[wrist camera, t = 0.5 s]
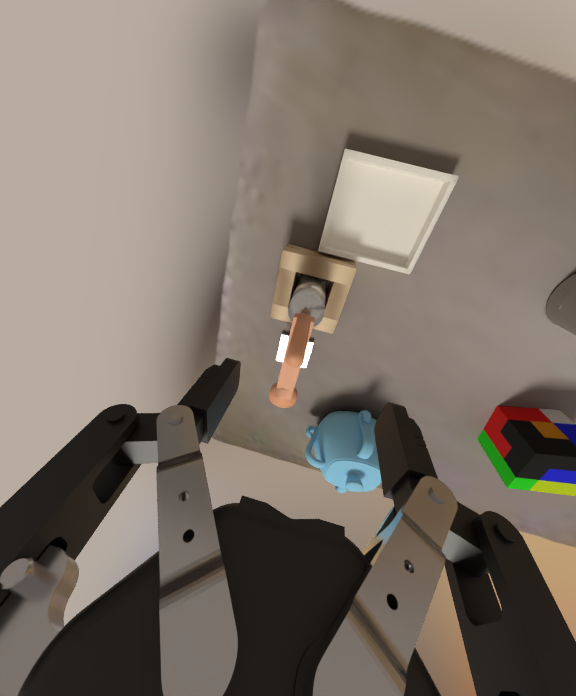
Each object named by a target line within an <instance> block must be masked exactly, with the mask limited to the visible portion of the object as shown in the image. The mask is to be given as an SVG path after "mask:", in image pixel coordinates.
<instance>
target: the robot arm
mask: <svg viewBox="0 0 576 696" xmlns="http://www.w3.org/2000/svg"><path fill="white" fill-rule="evenodd" d="M546 314H547V316H548V318H549V319H550V320H551V321H552V322H553V323H555V324H556V325H558V326H560V327H562V328H564V329H565V330H567V331H569V332H571V333H572V334H574V335H576V273H575V274H573V275H572V276H570V277H569V278H568V279H566V280H565V281H563V282H562V283H561V284H560V285H559V286H558V287H557V288H556V289H555V291H554V292H553V293H552V294H551V296H550V298H549V300H548V302H547V306H546ZM240 366H241V363H240V361H236V360H233V359H229V358H226V359H225V360H224V362H223V363H222V364H221V366H218V365H213V366H211V367H209V368H208V369H206V370H205V371H204V373H203V374H202V375H201V377H200V378H199V379H198V380H197V382H196V383H195V384H194V385H193V386H192V388H191V389H190V390H189V391H188V392H187V394H186V395H185V396H184V397H183V399H182V400H181V401H180V402H179V403H178V404H177V405H174V406H171V407H168V408H166V409H165V410H163V411H162V412H161V413H137V411H136V409H135V408H134V407H133V406H131V405H127V404H119V405H114V406H111V407H109V408H107V409H105V410H103V411H102V412H101V413H99V415H97V416H96V417H95V418H94V419H93V420H92V421H91V422H90V423H89V424H88V425H87V426H86V427H85V428H84V429H83V430H82V431H80V432H79V433H78V435H76V436H75V437H74V438H73V439H72V440H71V441H70V442H69V443H68V444H67V445H66V446H65V447H64V448H62V450H60V451H59V452H58V453H57V454H56V455H55V456H54V457H53V458H52V459H51V460H50V461H49V462H48V463H47V464H46V465H45V466H43V467H42V468H41V469H40V470H39V471H38V472H37V473H36V474H35V475H34V476H33V477H32V478H31V479H30V480H29V481H28V482H27V483H26V484H25V485H23V486H22V487H21V488H20V489H19V490H18V491H17V492H16V493H15V494H14V495H13V496H12V497H11V498H10V499H9V500H8V501H6V502H5V503H4V504H3V505H2V506H1V507H0V696H441V695H440V693H439V691H438V689H437V687H436V686H435V684H434V682H433V680H432V678H431V676H430V674H429V673H428V671H427V669H426V667H425V665H424V663H423V661H422V660H421V658H420V656H419V654H418V652H417V650H416V648H415V645H416V642H417V639H418V636H419V633H420V631H421V628H422V625H423V623H424V620H425V617H426V614H427V611H428V609H429V606H430V603H431V600H432V598H433V595H434V592H435V589H436V586H437V584H438V581H439V578H440V575H441V573H442V570H443V567H444V564H445V568H446V573H447V576H448V580H449V585H450V589H451V593H452V597H453V601H454V605H455V609H456V613H457V617H458V621H459V625H460V629H461V633H462V637H463V641H464V645H465V650H466V654H467V658H468V662H469V666H470V670H471V674H472V678H473V682H474V686H475V690H476V694H477V696H576V641H575V640H574V638H573V636H572V634H571V632H570V630H569V628H568V626H567V624H566V622H565V620H564V618H563V616H562V614H561V612H560V610H559V608H558V606H557V604H556V602H555V600H554V598H553V596H552V594H551V592H550V590H549V588H548V586H547V584H546V582H545V580H544V578H543V576H542V574H541V572H540V570H539V568H538V566H537V564H536V562H535V561H534V558H533V557H532V554H531V553H530V550H529V548H528V547H527V544H526V543H525V541H524V539H523V537H522V536H521V534H520V533H519V531H518V530H517V529H516V528H515V527H514V526H513V525H512V524H511V523H510V522H509V521H508V520H507V519H505V518H504V517H503V516H501V515H499V514H497V513H495V512H492V511H486V512H484V513H483V514H481V515H479V514H477V513H476V512H474V511H472V510H471V509H469V508H467V507H465V506H464V505H462V504H460V503H459V502H457V501H456V498H455V496H454V495H453V493H452V491H451V490H450V489H449V488H448V487H447V486H446V485H445V484H444V483H443V482H441V481H440V480H438V478H437V475H436V472H435V469H434V466H433V464H432V461H431V458H430V455H429V452H428V450H427V448H426V444H425V441H424V440H423V436H422V433H421V430H420V428H419V427H418V425H417V424H416V423H415V421H414V420H413V419H411V418H409V417H408V414H407V411H406V408H405V407H404V406H401V405H397V404H394V403H390V402H389V403H387V404H386V406H385V407H384V409H383V411H382V412H381V414H380V416H379V417H378V419H377V421H376V423H375V427H374V434H375V441H376V448H377V454H378V461H379V468H380V474H381V481H382V488H383V494H384V497H387V498H390V499H393V501H394V507H392V509H391V510H390V512H389V513H388V515H387V516H386V518H385V520H384V521H383V523H382V524H381V526H380V527H379V529H378V531H377V532H376V533H375V535H374V537H373V538H372V540H371V541H370V542H369V543H368V545H367V546H366V547H365V548H364V550H363V551H362V552H361V551H360V550H359V548H358V547H357V546H356V545H355V544H354V543H353V542H351V541H350V540H349V539H348V538H346V537H345V533H344V532H345V531H344V527H343V526H340V525H336V524H333V523H330V522H327V521H323V520H320V519H291V518H289V517H287V516H286V515H284V514H283V513H281V512H280V511H278V510H276V509H275V508H273V507H272V506H270V505H269V504H267V503H265V502H262V501H258V500H255V499H252V498H248V497H245V496H242V497H241V500H240V503H231V504H226V505H223V506H220V507H218V508H216V509H214V510H213V509H212V504H211V499H210V493H209V488H208V483H207V478H206V472H205V467H204V462H203V457H202V453H201V452H200V448H199V444H200V443H201V442H204V443H208V442H209V440H210V439H211V437H212V435H213V433H214V431H215V430H216V428H217V426H218V424H219V422H220V421H221V419H222V417H223V415H224V413H225V412H226V410H227V408H228V406H229V404H230V403H231V401H232V399H233V397H234V395H235V394H236V391H237V389H238V385H239V378H240ZM144 463H158V466H157V502H158V503H157V504H158V534H159V551H158V552H157V553H155V554H154V555H153V556H152V557H150V558H149V559H148V560H146V561H145V562H144V563H143V564H141V565H140V566H139V567H137V568H136V569H135V570H133V571H132V572H131V573H130V574H128V575H127V576H126V577H124V578H123V579H122V580H121V581H119V582H118V583H117V584H115V585H114V586H113V587H112V588H110V589H109V590H108V591H107V592H105V593H104V594H102V595H101V596H100V597H99V598H97V599H96V600H95V601H93V602H92V603H91V604H90V605H88V606H87V607H86V608H84V609H83V610H82V611H81V612H79V613H78V614H77V615H76V616H75V617H74V618H72V620H70V621H69V622H68V623H67V624H66V625H65V626H64V621H63V617H64V611H65V607H66V604H67V602H68V599H69V597H70V595H71V594H72V592H73V590H74V588H75V585H76V583H77V580H78V575H79V568H78V565H77V563H76V562H75V559H76V558H77V556H78V555H79V553H80V552H81V550H82V549H83V547H84V546H85V545H86V543H87V542H88V540H89V539H90V537H91V536H92V535H93V533H94V532H95V530H96V529H97V527H98V526H99V524H100V523H101V522H102V520H103V519H104V517H105V516H106V514H107V513H108V511H109V510H110V509H111V507H112V506H113V504H114V503H115V501H116V500H117V499H118V497H119V496H120V494H121V493H122V491H123V490H124V488H125V487H126V485H127V484H128V483H129V481H130V480H131V478H132V477H133V475H134V474H135V473H136V471H137V470H138V468H139V467H140V465H141V464H144ZM488 573H490V576H491V578H492V581H493V584H494V587H495V589H496V592H497V595H498V598H499V600H500V603H501V607H502V611H501V608H500V606H499V603H498V600H497V597H496V594H495V592H494V589H493V586H492V584H491V581H490V578H489V575H488Z"/></svg>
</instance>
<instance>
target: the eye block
mask: <svg viewBox="0 0 576 696" xmlns="http://www.w3.org/2000/svg"><path fill="white" fill-rule="evenodd" d="M356 270H357V268H356V265H355V262H354V261H353V260H349V259H345V258H341V257H337V256H333V255H329V254H325V253H322V252H318V251H314V250H310V249H306V248H302V247H298V246H294V245H290V244H288V245H287V246H286V247H285V248H284V249H283V250H282V256H281V261H280V267H279V272H278V278H277V283H276V289H275V295H274V300H273V306H272V311H271V318H275V319H278V320H282V321H286V322H290V323H292V321H291V320H290V318H289V316H288V307H289V304H290V302H291V299H292V297H293V292H294V288H295V283H296V279H297V274H298V273H302V274H306V275H310V276H314V277H318V278H321V279H325V280H329V281H331V283H330V286H329V290H328V293H327V296H326V299H325V309H324V317H323V319H322V321H321V322H320V323H319V324H318V325H317V326H315V327H313V329H316V330H320V331H324V332H328V333H332V334H333V332H334V330H335V327H336V324H337V322H338V319H339V316H340V314H341V311H342V308H343V305H344V303H345V300H346V297H347V295H348V292H349V289H350V287H351V284H352V281H353V278H354V276H355V273H356Z"/></svg>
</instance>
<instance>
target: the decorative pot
mask: <svg viewBox="0 0 576 696" xmlns="http://www.w3.org/2000/svg"><path fill="white" fill-rule="evenodd" d="M376 421H377V420H376V419H374V418H372V417H371V413H370V412H368V411H367V410H363V411H361V412H360V413H357V412H351V411H335V412H332V413H330V414H328V415H327V416H326V417H325V418H324V419H323V420H322V421H321V422H320V424H319V426H318V428H317V427H315V426H309V427H308V428H307V429H306V435H307V436H308V437H310V438H311V440H310V442H309V443H308V445H307V448H306V452H305V455H306V459H307V461H308V462H309V463H310V464H311V465H312V466H314V467H317V468H320V470H321V472H322V474H323V476H324V478H325V479H326V480H327V481H328V482H329V483H331V484H333V485H335V487H336V490H337V491H338V492H340V493H346V492H347V490H350V491H354V492H357V491H361V492H366V491H371V490H373V489H375V488H376V487H377V486H378V485H379V484H380V483H382V481H381V474H380V468H379V461H378V454H377V448H376V441H375V434H374V427H375V423H376ZM311 432H313V434H312V433H311ZM313 444H314V449H315V455H316V459H315V458H314V457H313V456H312V454H311V449H312V446H313Z"/></svg>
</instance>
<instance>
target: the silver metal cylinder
mask: <svg viewBox="0 0 576 696" xmlns="http://www.w3.org/2000/svg"><path fill="white" fill-rule="evenodd" d="M325 295H326V280H325V279H321V278H318V277H314V276H310V275H306V274H303V275H302V276H301V278H300V280H299V282H298V285H297V287H296V290H295V292H294V294H293V297H292V299H291V302H290V304H289V307H288V316H289V318H290V320H291V321H292V322H293V318H294V315H295V313H299V314H301V313H307V314H308V315H310V317H314V318H315V321H314V325H313V327H315V326H317V325H318V324H319V323H320V322H321V321H322V319H323V317H324V309H325Z"/></svg>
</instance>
